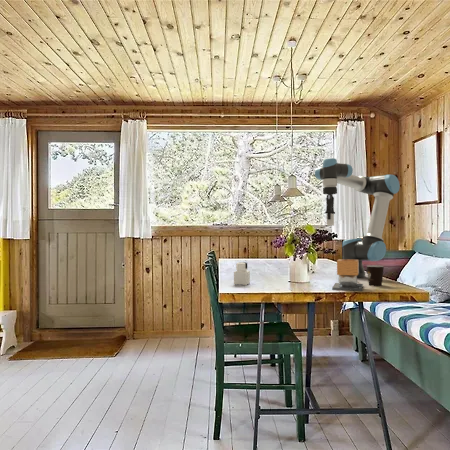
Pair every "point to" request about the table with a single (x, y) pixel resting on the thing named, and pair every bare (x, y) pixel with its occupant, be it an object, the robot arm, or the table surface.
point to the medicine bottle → (241, 274)
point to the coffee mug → (375, 275)
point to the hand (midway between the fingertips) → (330, 225)
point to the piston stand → (347, 283)
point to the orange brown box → (347, 267)
